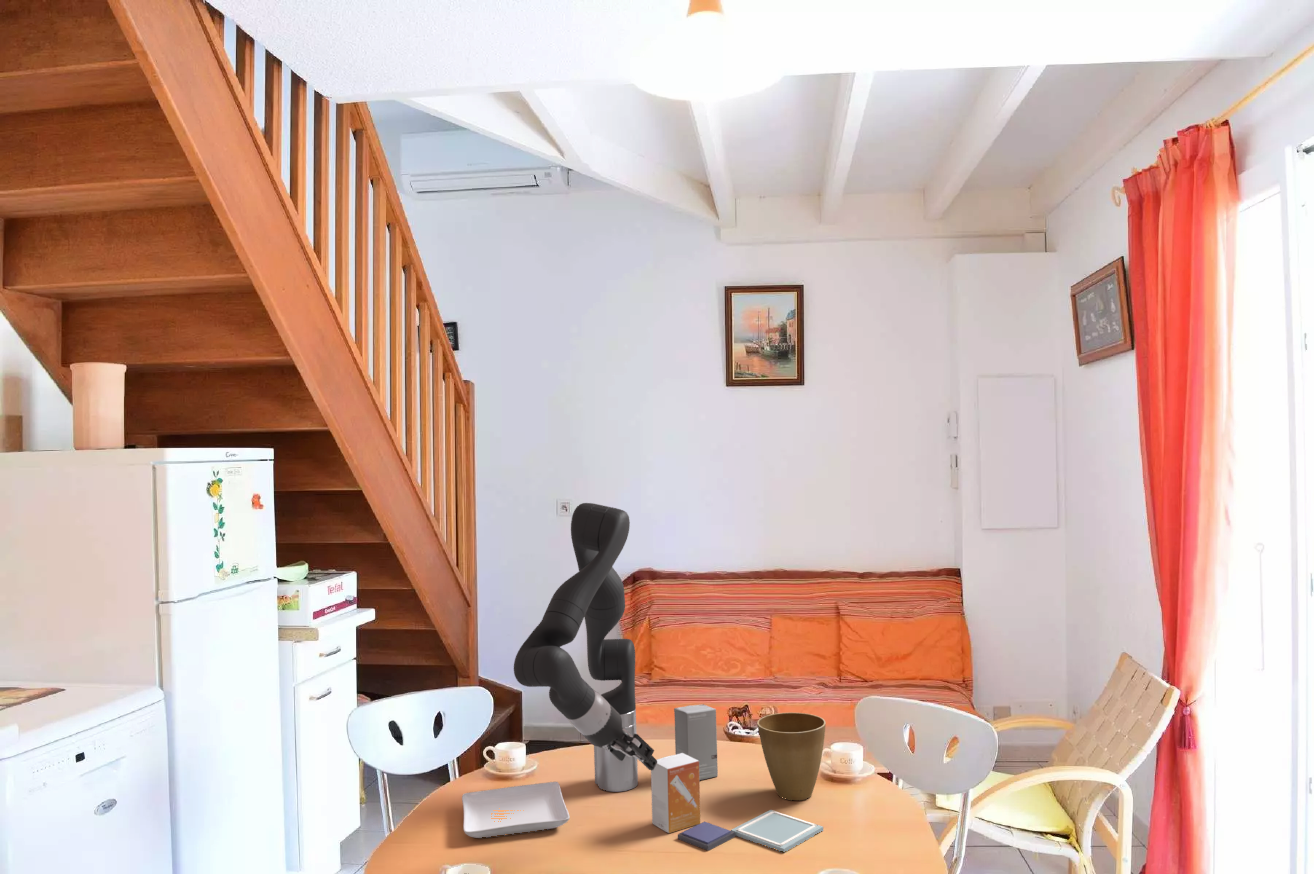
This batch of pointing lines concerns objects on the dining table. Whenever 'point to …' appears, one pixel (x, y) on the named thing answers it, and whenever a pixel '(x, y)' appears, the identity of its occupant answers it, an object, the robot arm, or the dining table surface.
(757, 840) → the board
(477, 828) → the salad plate
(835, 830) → the dining table surface
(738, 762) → the dining table surface
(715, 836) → the ink pad
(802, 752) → the plant pot
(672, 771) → the small box
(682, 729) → the skincare box
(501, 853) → the dining table surface
